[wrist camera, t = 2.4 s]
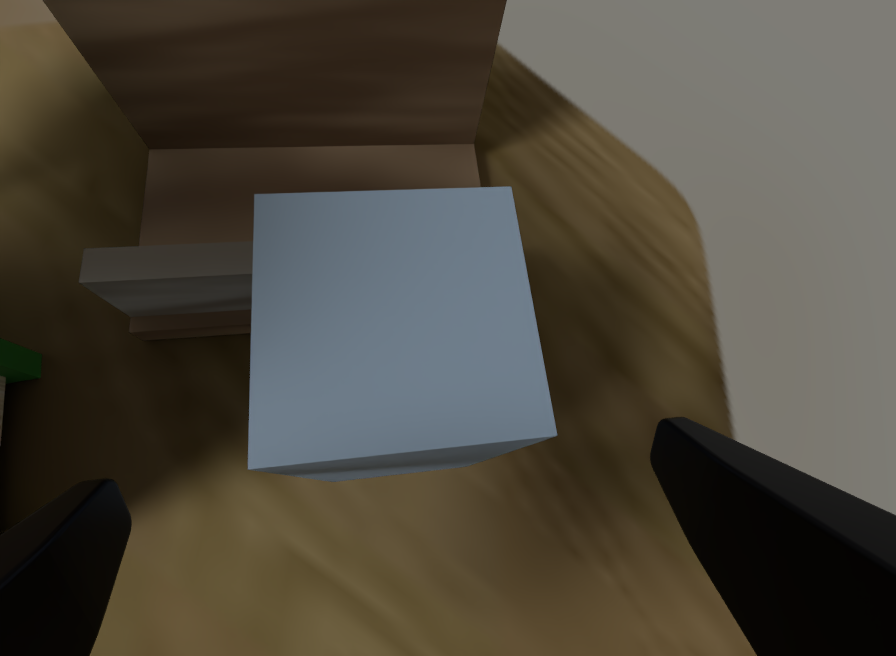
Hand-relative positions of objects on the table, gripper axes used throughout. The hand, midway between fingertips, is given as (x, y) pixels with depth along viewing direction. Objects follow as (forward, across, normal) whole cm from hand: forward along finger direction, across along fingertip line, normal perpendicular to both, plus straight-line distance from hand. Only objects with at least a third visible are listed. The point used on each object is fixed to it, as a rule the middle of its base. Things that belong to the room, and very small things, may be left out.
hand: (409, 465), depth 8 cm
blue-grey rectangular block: (+9, 0, +5) cm, 10 cm away
